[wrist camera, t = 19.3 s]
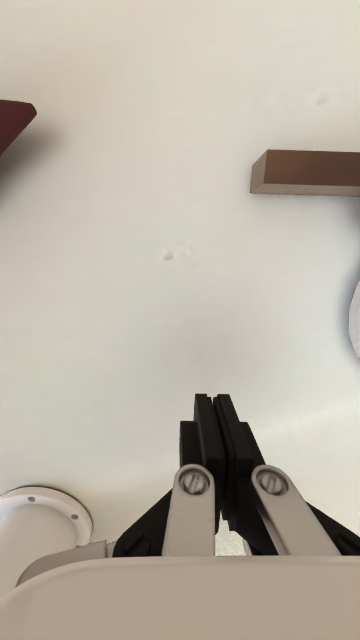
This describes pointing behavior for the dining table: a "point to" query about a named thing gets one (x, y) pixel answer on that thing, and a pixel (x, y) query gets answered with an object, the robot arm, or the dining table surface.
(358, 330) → the mug
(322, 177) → the corner stop
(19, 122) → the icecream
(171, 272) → the dining table surface
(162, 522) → the robot arm
